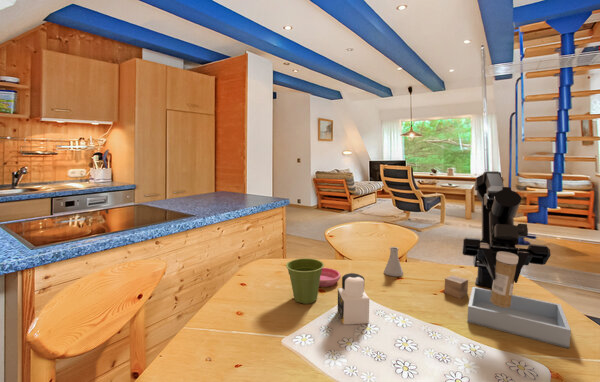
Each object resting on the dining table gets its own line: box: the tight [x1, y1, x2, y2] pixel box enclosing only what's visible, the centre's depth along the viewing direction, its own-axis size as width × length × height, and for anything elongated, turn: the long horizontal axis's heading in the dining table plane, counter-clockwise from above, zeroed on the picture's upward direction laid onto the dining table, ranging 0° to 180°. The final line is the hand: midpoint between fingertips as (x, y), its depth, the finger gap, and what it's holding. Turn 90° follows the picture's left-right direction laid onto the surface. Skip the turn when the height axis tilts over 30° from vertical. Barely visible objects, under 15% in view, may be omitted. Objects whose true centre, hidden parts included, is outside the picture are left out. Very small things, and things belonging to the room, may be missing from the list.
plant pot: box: [285, 257, 325, 305], centre depth 93 cm, size 12×12×11 cm
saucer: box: [319, 267, 341, 288], centre depth 107 cm, size 12×12×3 cm
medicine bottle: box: [337, 272, 370, 325], centre depth 82 cm, size 7×7×12 cm
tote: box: [466, 286, 572, 349], centre depth 80 cm, size 15×21×4 cm
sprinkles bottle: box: [490, 251, 519, 308], centre depth 76 cm, size 5×5×14 cm
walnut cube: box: [443, 274, 469, 299], centre depth 97 cm, size 5×5×5 cm
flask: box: [383, 246, 404, 278], centre depth 114 cm, size 7×7×10 cm
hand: (504, 280), depth 75 cm, fingers closed on sprinkles bottle, 4 cm apart
